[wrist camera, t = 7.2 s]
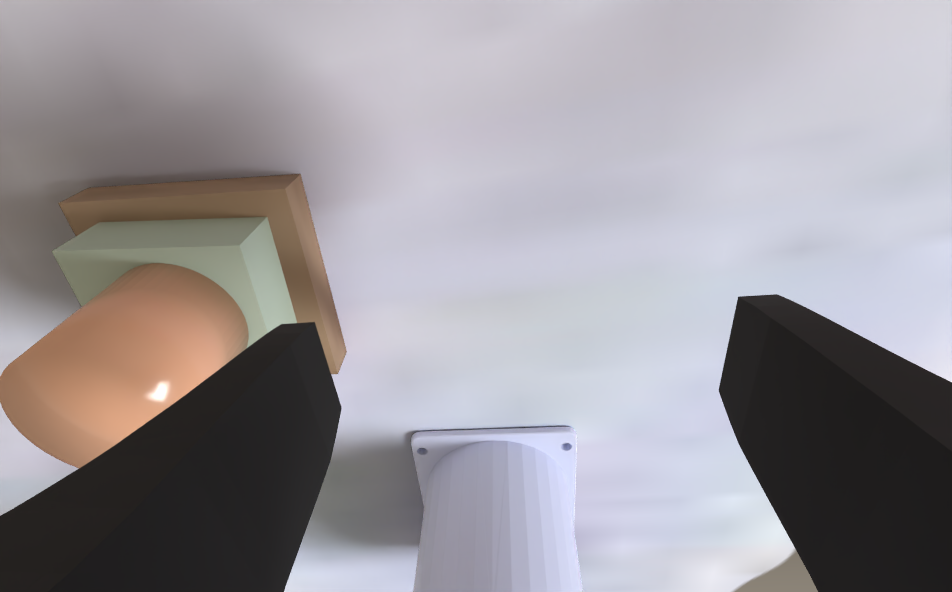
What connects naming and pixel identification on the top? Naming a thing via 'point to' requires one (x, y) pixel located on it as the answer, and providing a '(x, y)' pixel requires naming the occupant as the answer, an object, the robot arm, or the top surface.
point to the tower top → (187, 261)
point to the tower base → (233, 200)
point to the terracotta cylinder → (121, 360)
